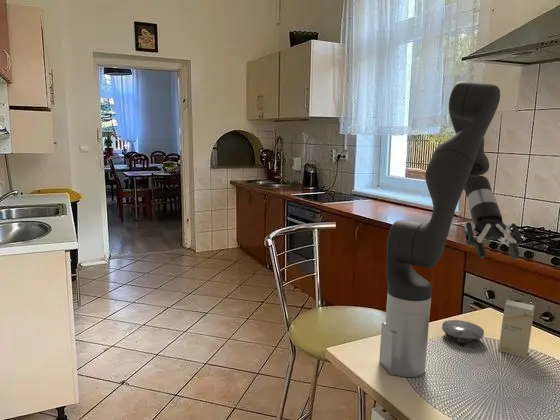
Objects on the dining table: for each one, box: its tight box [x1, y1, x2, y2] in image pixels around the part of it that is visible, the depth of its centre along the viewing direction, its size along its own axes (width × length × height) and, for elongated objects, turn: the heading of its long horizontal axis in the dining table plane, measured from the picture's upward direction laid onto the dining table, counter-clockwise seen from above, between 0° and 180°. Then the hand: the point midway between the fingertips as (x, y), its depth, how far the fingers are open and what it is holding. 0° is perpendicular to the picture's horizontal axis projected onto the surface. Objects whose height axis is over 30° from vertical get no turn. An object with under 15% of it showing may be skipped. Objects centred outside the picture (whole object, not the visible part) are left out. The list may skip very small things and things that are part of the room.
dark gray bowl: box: [441, 319, 485, 347], centre depth 113 cm, size 10×10×3 cm
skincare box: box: [498, 299, 535, 359], centre depth 106 cm, size 6×4×12 cm
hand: (499, 257), depth 115 cm, fingers open, 8 cm apart
